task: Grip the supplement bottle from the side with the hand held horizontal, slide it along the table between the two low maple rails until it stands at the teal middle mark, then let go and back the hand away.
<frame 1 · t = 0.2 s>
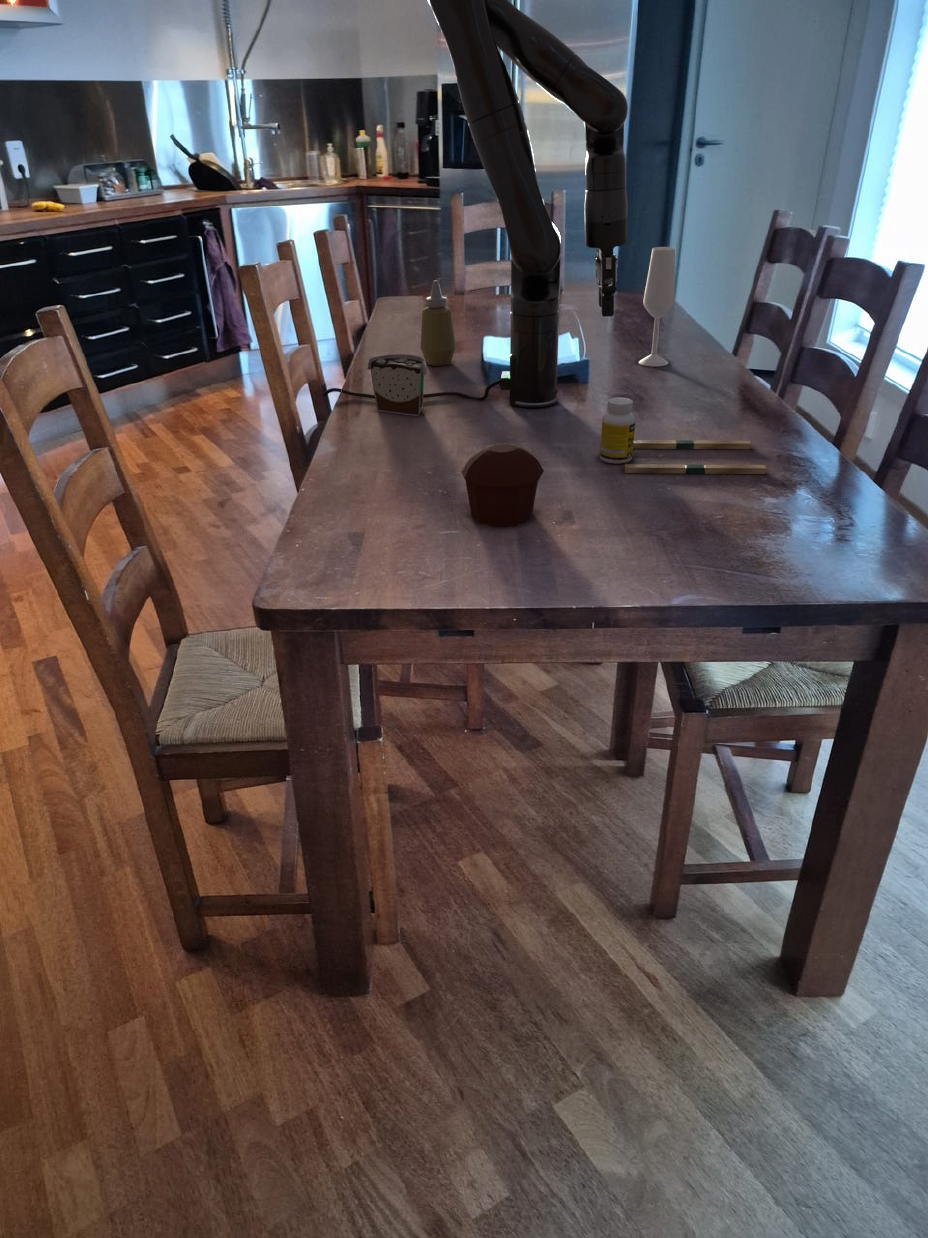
hand: (606, 311, 162), 17 cm above the table, tool pointing down, fingers open, 8 cm apart
squeeze bottle: (438, 363, 200), on the table
supplement bottle: (615, 459, 144), on the table
champagne flute: (653, 363, 196), on the table
lane: (689, 459, 143), on the table
muffin: (502, 515, 126), on the table
food container: (405, 410, 170), on the table
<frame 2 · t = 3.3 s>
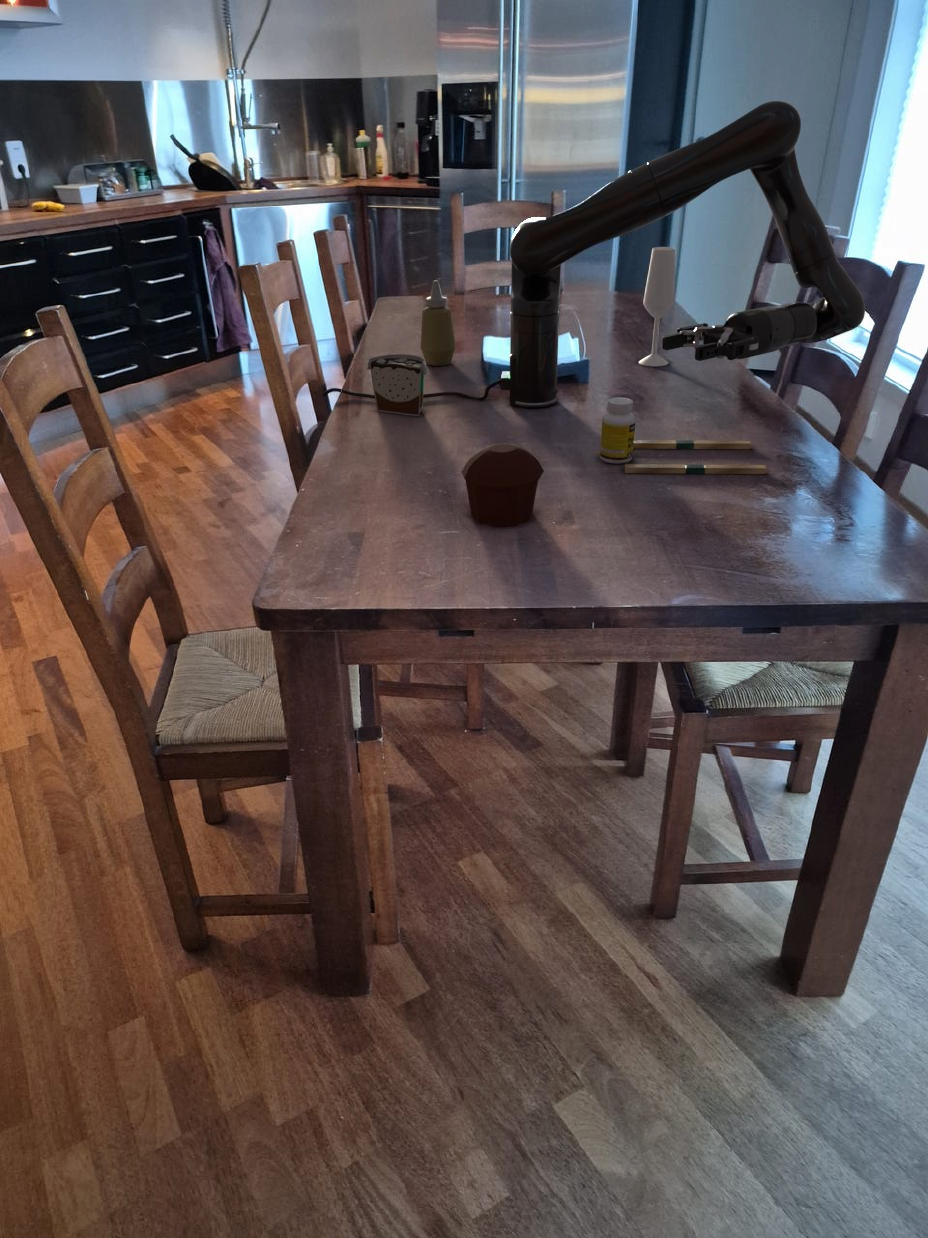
hand: (679, 348, 140), 17 cm above the table, tool horizontal, fingers open, 8 cm apart
nothing on the table moved.
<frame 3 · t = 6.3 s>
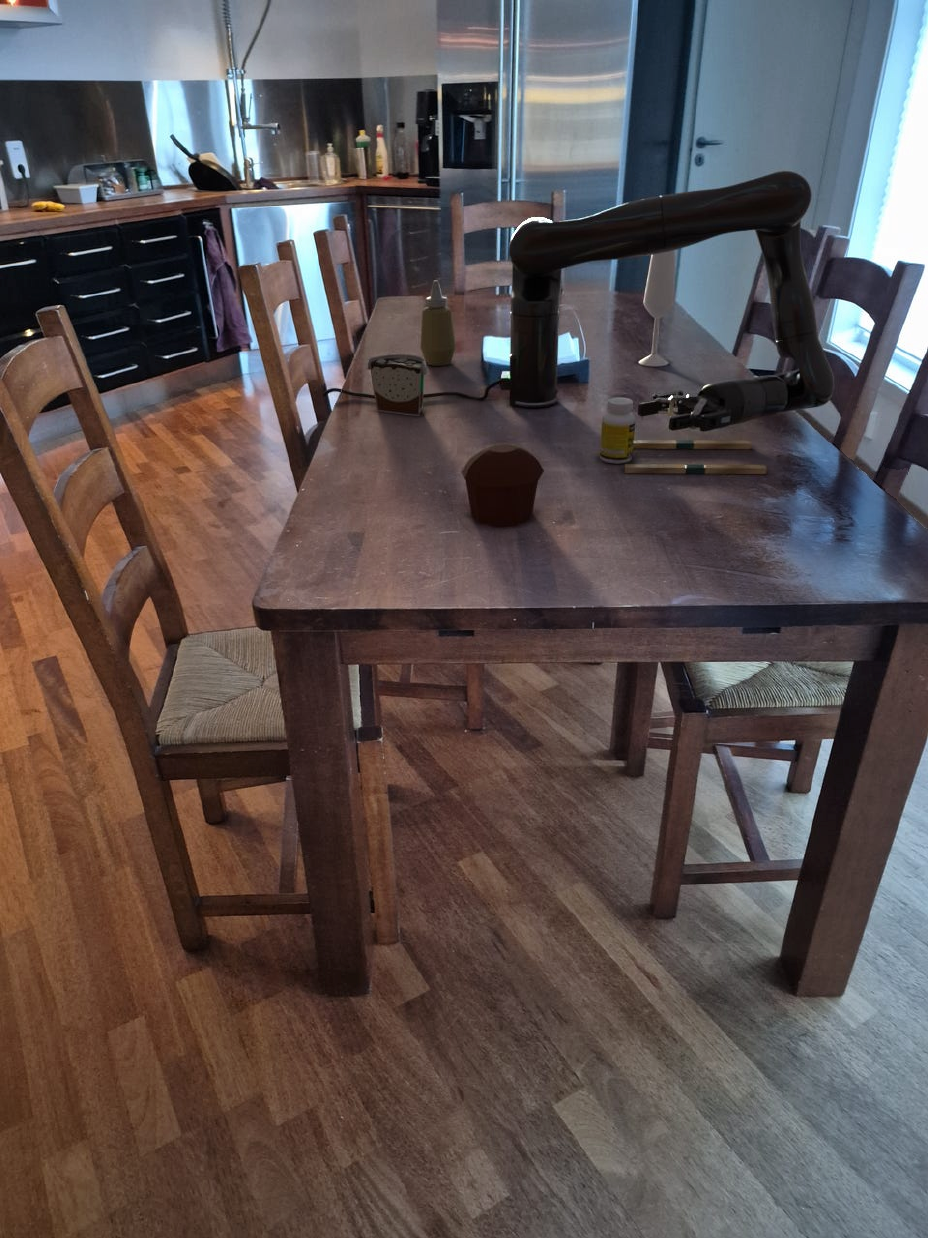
hand: (654, 416, 143), 6 cm above the table, tool horizontal, fingers open, 8 cm apart
nothing on the table moved.
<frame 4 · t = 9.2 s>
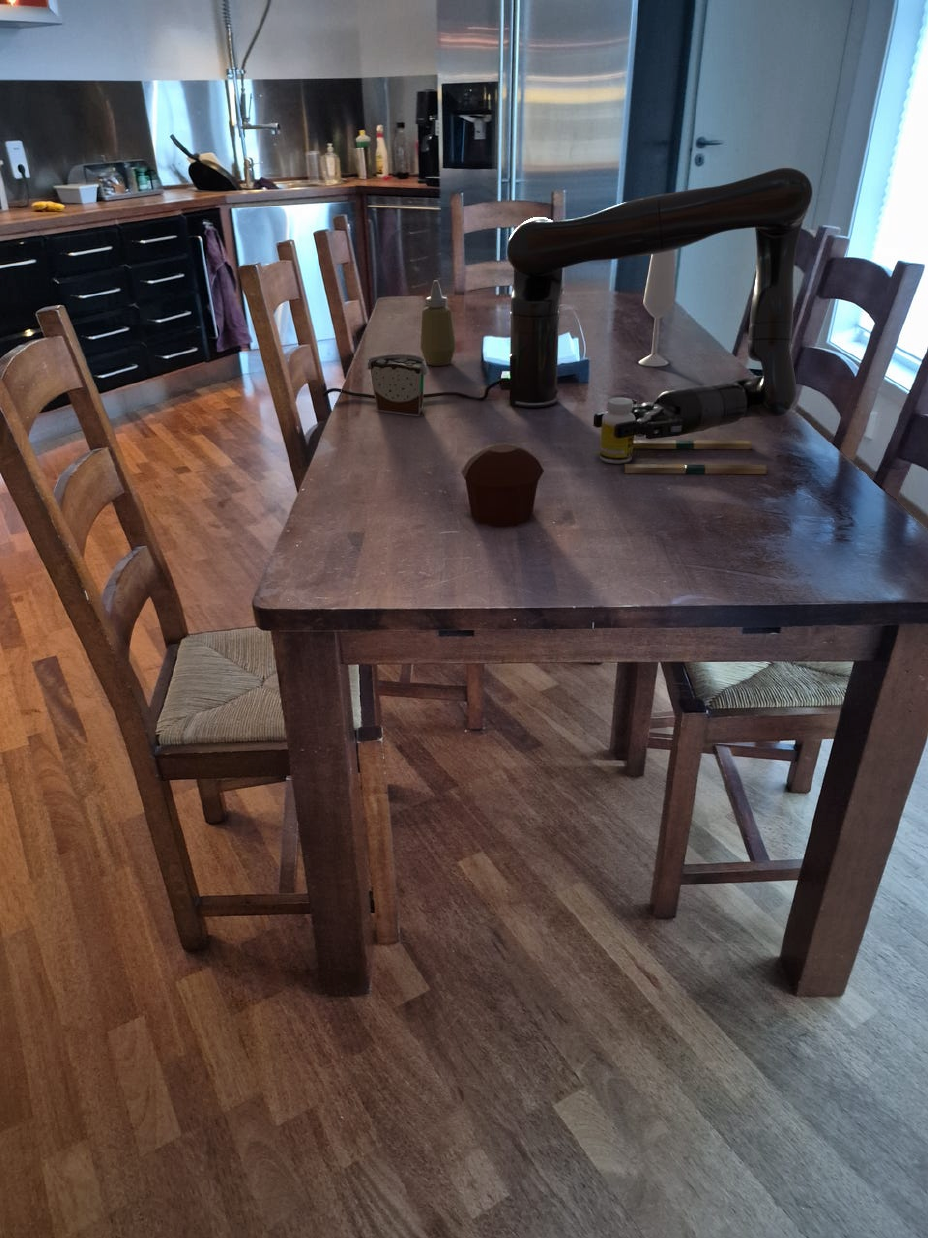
hand: (605, 426, 140), 6 cm above the table, tool horizontal, fingers closed on supplement bottle, 5 cm apart
supplement bottle: (615, 459, 144), on the table, touching gripper
everything else where it was.
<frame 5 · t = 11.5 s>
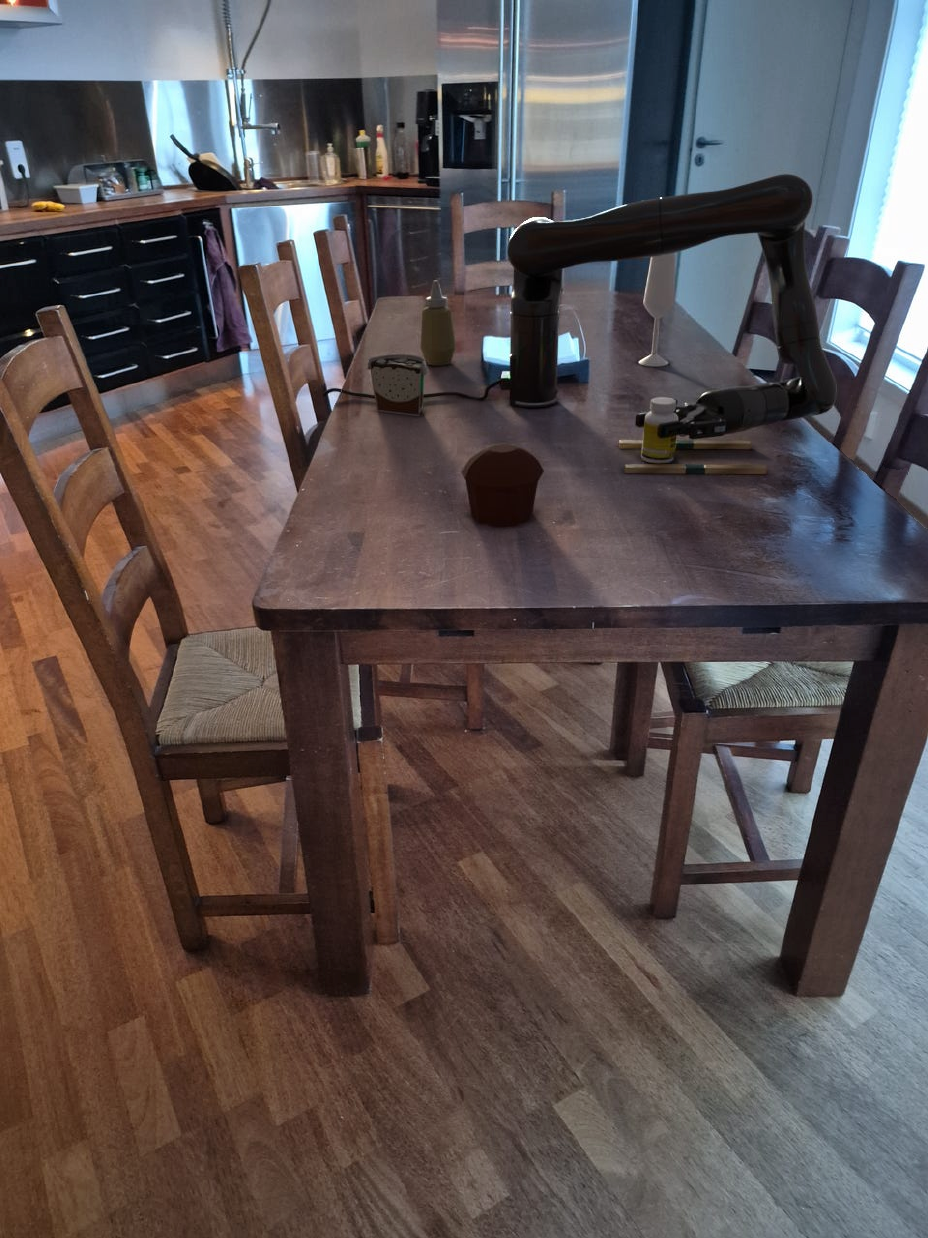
hand: (648, 426, 139), 6 cm above the table, tool horizontal, fingers closed on supplement bottle, 5 cm apart
supplement bottle: (657, 460, 143), on the table, touching gripper
everything else where it was.
when the fingers open (6 cm above the table, at t = 13.7 s): supplement bottle stays where it is, on the table.
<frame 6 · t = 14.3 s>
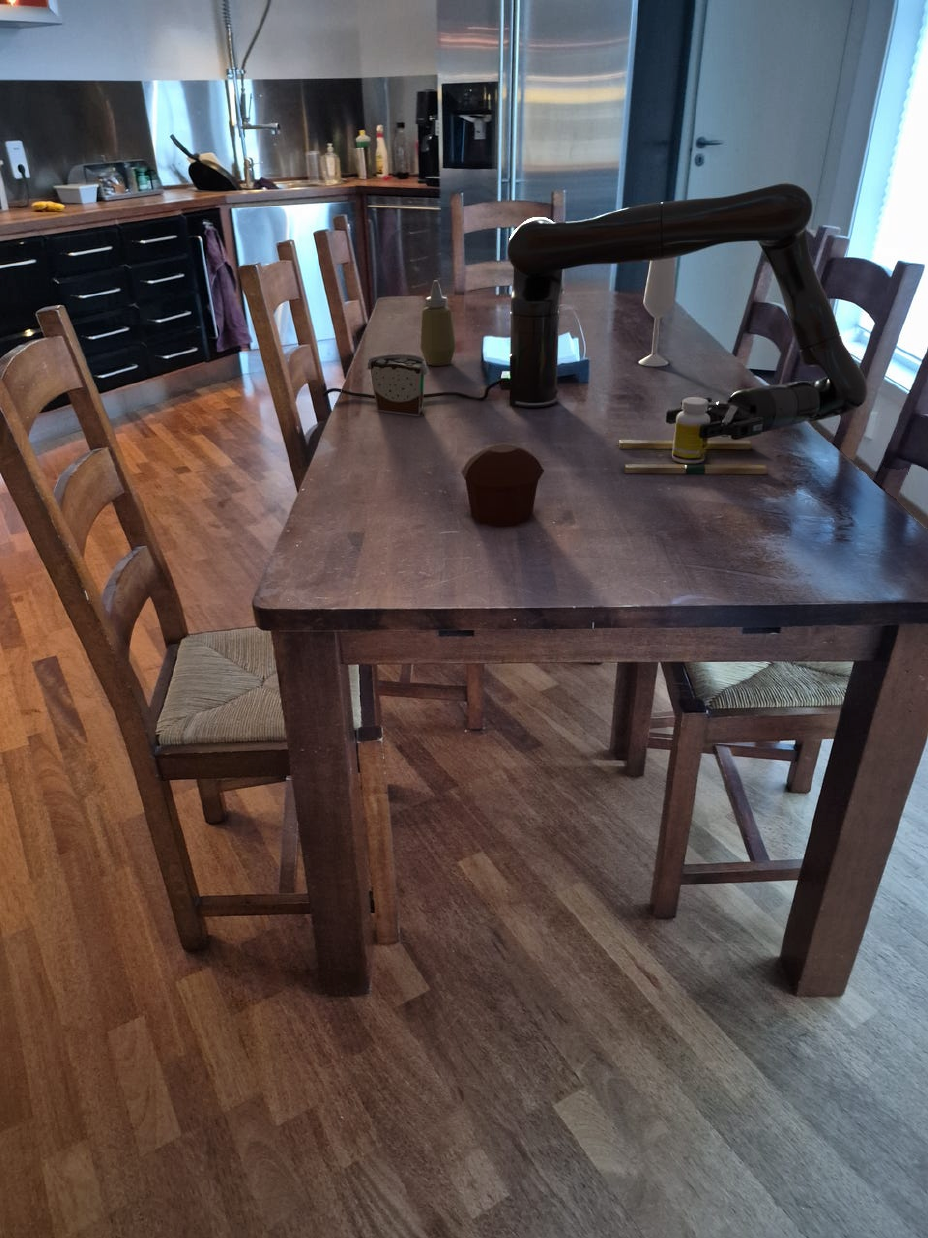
hand: (683, 424, 139), 6 cm above the table, tool horizontal, fingers open, 8 cm apart
supplement bottle: (688, 460, 143), on the table
everything else where it was.
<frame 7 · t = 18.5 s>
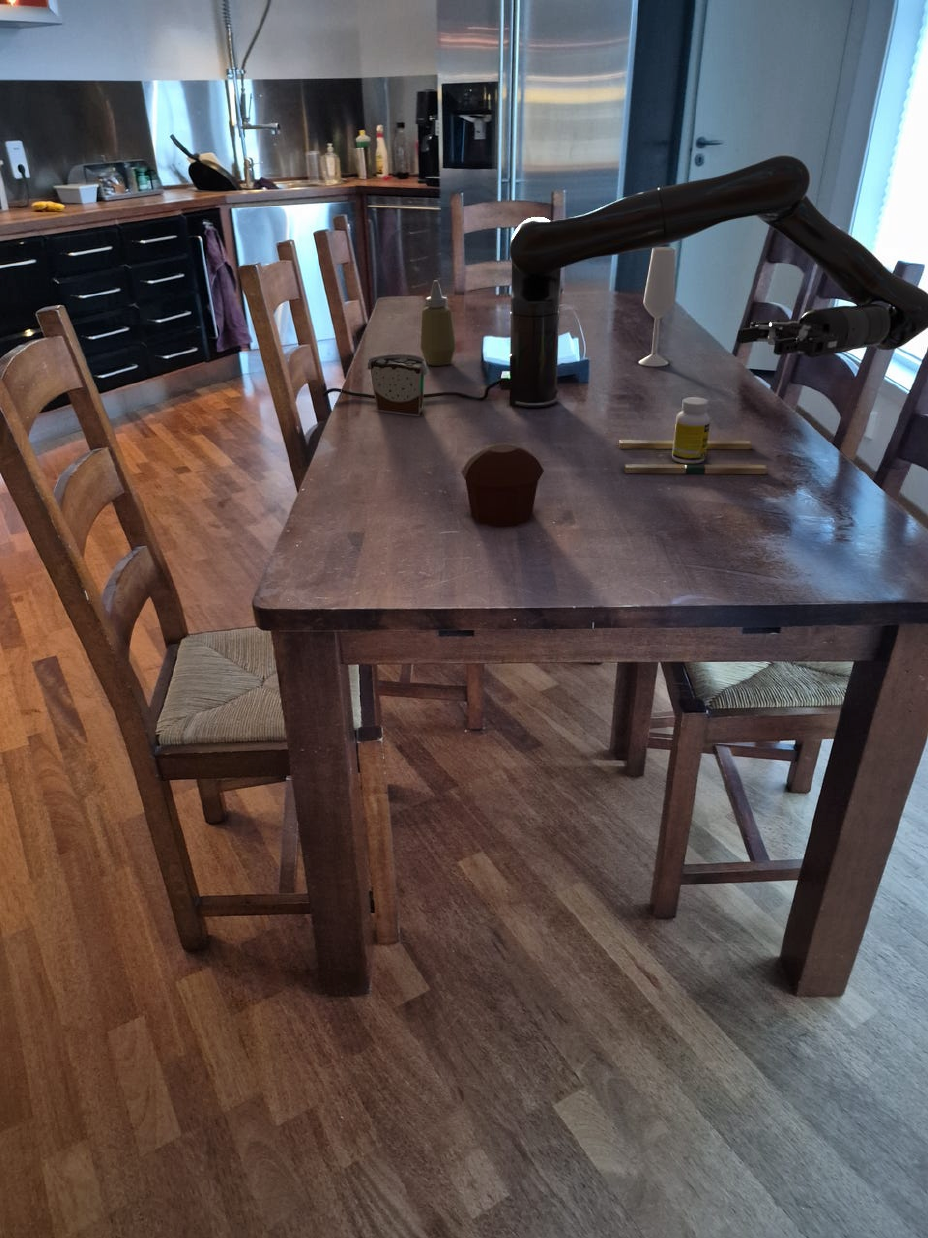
hand: (757, 341, 138), 18 cm above the table, tool horizontal, fingers open, 8 cm apart
nothing on the table moved.
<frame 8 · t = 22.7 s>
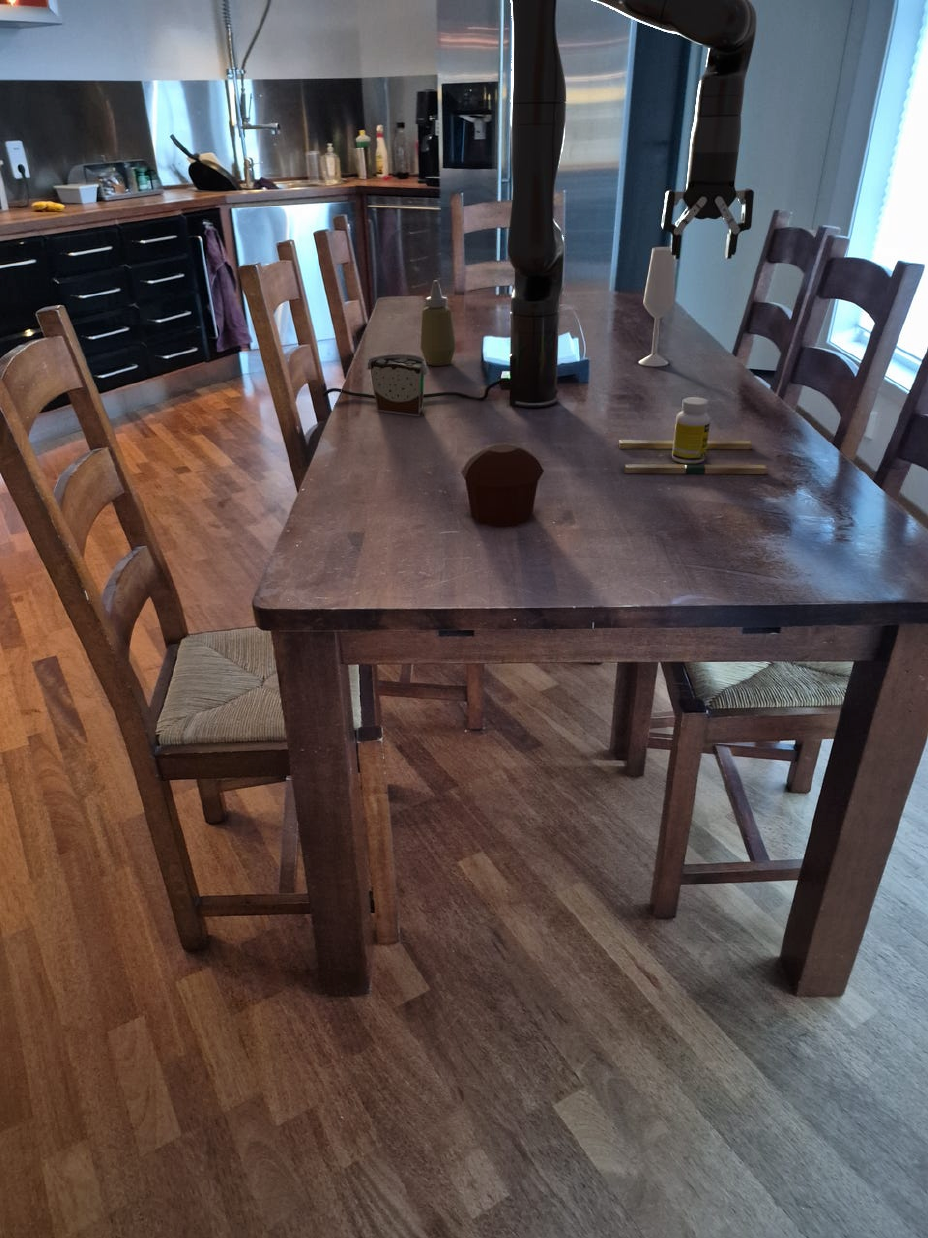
hand: (702, 258, 145), 28 cm above the table, tool pointing down, fingers open, 8 cm apart
nothing on the table moved.
at the end: supplement bottle 0.1 cm off-centre on the lane, point 0.0 cm above the lane's base; supplement bottle tilted 0°; the gripper is holding nothing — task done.
